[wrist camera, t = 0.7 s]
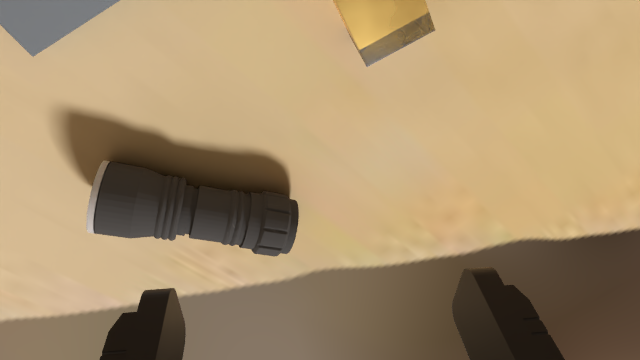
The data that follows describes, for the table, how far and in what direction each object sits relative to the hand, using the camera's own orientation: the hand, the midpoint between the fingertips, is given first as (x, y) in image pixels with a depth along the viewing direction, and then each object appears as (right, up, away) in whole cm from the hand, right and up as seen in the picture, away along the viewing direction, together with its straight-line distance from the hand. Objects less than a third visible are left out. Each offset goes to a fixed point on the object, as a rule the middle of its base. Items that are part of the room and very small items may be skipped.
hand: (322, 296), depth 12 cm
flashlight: (-10, +2, +24) cm, 26 cm away
